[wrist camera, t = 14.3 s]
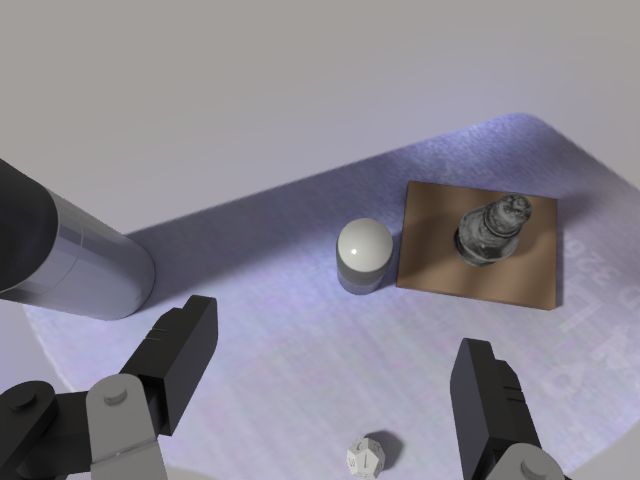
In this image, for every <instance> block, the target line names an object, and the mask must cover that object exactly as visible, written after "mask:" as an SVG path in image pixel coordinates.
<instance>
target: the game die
mask: <svg viewBox="0 0 640 480" xmlns="http://www.w3.org/2000/svg"><path fill="white" fill-rule="evenodd" d="M384 462H385V454H384V452H383V450H382V448H381V446H380V444H379V443H378V442H376V441H374V440H372V439H370V438H361V439H356V440H355V441H354V442H353V444H352V445H351V446H350V448H349V449H348V454H347V463H348V466H349V468H350V470H351V473H352V475H354V476H357V477H359V478H362V479H376V478H377V477H378V475H379V474H380V472H381V471H382V469H383V468H384Z"/></svg>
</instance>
